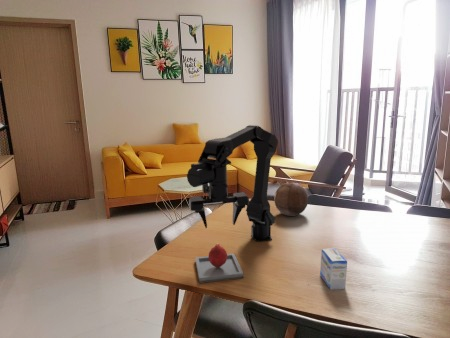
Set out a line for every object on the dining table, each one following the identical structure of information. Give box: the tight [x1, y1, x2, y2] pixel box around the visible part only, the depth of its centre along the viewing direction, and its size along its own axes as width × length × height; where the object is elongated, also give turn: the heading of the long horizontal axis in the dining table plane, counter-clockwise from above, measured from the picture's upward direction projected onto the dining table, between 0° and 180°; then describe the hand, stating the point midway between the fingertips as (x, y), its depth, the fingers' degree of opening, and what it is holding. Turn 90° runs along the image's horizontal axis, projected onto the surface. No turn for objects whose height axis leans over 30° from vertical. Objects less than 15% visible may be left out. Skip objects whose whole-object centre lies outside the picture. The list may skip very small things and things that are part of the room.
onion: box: [208, 242, 228, 268], centre depth 100 cm, size 6×6×8 cm
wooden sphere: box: [273, 182, 309, 217], centre depth 146 cm, size 15×15×15 cm
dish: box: [195, 253, 244, 284], centre depth 101 cm, size 13×13×2 cm
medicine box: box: [319, 247, 348, 291], centre depth 92 cm, size 8×4×9 cm, turn 5°
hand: (220, 226), depth 106 cm, fingers open, 9 cm apart
